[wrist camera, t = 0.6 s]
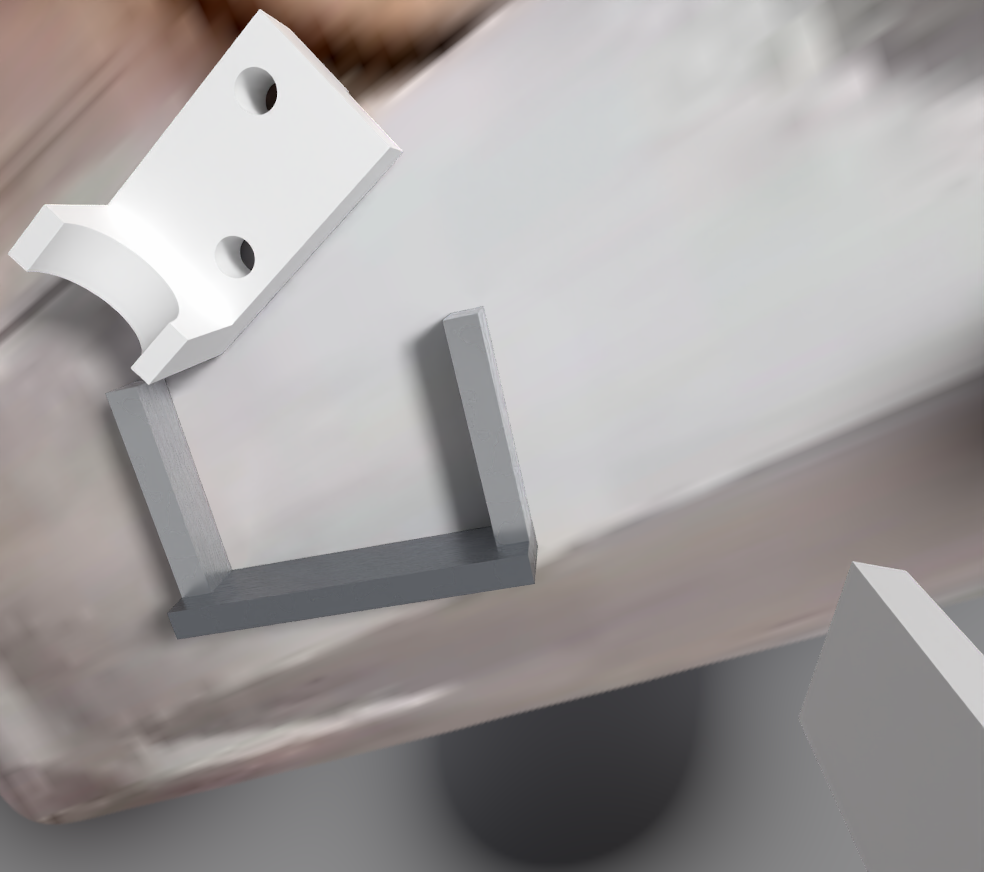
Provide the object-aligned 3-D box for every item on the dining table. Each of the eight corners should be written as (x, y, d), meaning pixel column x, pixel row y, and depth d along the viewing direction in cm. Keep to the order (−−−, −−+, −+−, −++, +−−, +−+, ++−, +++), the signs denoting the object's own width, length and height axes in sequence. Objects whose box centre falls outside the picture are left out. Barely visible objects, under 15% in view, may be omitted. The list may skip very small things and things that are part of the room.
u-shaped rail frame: (134, 381, 37) (85, 401, 33) (483, 306, 34) (473, 317, 31) (213, 598, 41) (177, 639, 37) (537, 546, 38) (534, 583, 34)
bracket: (230, 350, 37) (148, 384, 29) (120, 245, 36) (7, 253, 28) (407, 153, 33) (364, 137, 26) (292, 30, 32) (212, -22, 25)
